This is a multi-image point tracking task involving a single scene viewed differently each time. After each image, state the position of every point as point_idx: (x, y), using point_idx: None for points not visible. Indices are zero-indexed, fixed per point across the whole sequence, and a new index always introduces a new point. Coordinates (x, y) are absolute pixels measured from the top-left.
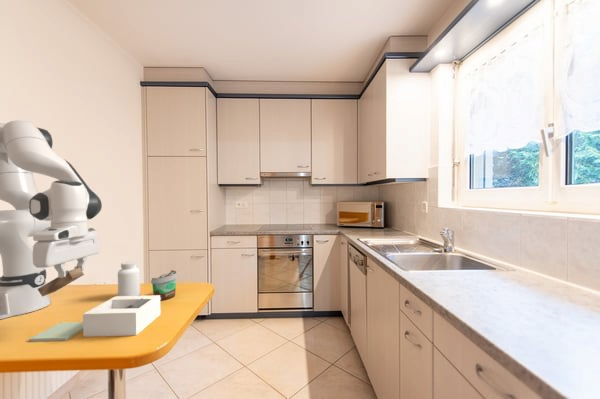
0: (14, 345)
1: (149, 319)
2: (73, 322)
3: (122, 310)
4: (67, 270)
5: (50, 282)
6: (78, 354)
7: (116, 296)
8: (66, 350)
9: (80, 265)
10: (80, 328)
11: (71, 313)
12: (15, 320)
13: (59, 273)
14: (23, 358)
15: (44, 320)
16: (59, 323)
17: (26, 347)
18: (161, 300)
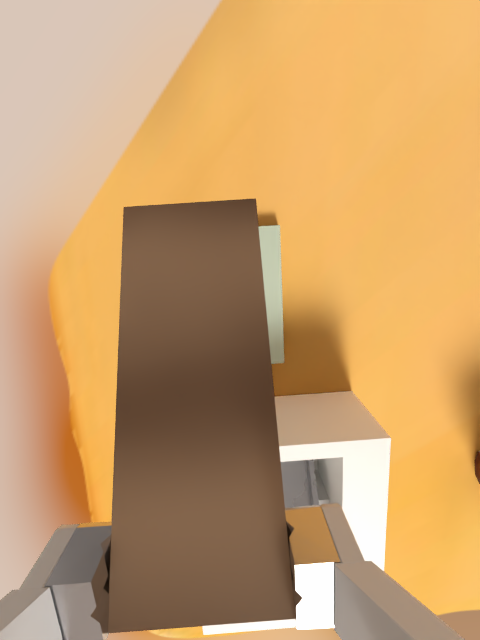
0: (119, 203)
1: None
2: (277, 287)
3: None
4: (104, 635)
5: (121, 348)
6: (100, 471)
7: (388, 444)
8: (113, 420)
9: (339, 621)
10: None
11: (391, 163)
12: None
13: (37, 578)
14: (58, 330)
15: (323, 93)
16: (269, 231)
17: (113, 268)
18: (478, 479)
